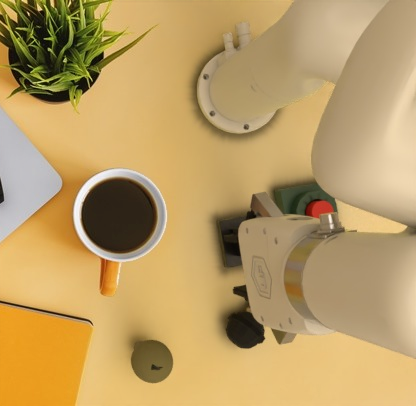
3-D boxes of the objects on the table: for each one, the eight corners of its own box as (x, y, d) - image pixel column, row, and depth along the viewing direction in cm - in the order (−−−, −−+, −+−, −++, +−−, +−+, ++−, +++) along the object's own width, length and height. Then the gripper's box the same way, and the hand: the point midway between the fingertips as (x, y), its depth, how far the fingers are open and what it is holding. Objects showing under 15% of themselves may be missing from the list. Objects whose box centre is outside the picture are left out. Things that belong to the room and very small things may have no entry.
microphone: (294, 235, 86) (214, 332, 82) (307, 225, 80) (222, 328, 76) (324, 258, 84) (244, 358, 80) (339, 249, 79) (255, 355, 75)
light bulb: (127, 372, 80) (142, 394, 70) (117, 335, 80) (130, 352, 70) (163, 360, 81) (183, 381, 71) (153, 324, 81) (171, 339, 71)
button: (303, 203, 79) (310, 202, 77) (324, 199, 79) (331, 198, 78) (307, 224, 79) (314, 225, 77) (328, 221, 79) (335, 221, 78)
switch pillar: (216, 220, 82) (304, 222, 56) (261, 212, 82) (368, 211, 57) (224, 267, 82) (316, 289, 56) (269, 258, 82) (379, 277, 57)
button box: (273, 190, 83) (286, 189, 79) (323, 181, 83) (338, 180, 79) (282, 242, 83) (295, 244, 79) (332, 233, 83) (348, 234, 79)
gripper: (270, 178, 42) (195, 191, 60) (308, 398, 42) (221, 345, 60) (362, 163, 43) (260, 180, 61) (400, 380, 43) (286, 332, 61)
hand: (241, 262), depth 60 cm, fingers closed on switch lever, 5 cm apart
